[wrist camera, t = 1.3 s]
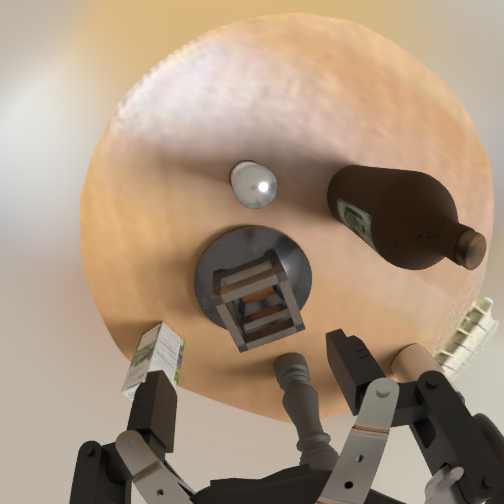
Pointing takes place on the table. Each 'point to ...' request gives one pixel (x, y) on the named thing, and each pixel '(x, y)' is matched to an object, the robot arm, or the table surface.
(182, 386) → the table surface
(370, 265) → the table surface
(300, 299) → the collar stand
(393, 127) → the table surface
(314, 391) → the candle holder
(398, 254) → the olive oil
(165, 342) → the syrup box
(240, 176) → the silver metal bottle
